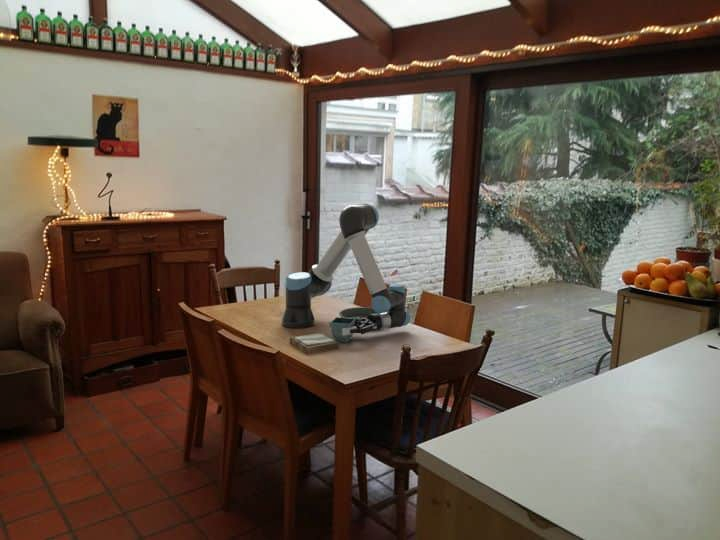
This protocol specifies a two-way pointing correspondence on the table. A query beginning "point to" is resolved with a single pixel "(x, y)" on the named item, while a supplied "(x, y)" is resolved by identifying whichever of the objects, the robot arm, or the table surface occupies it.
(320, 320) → the table surface
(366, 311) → the cake pan
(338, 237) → the robot arm
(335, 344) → the stand
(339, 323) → the flower pot
